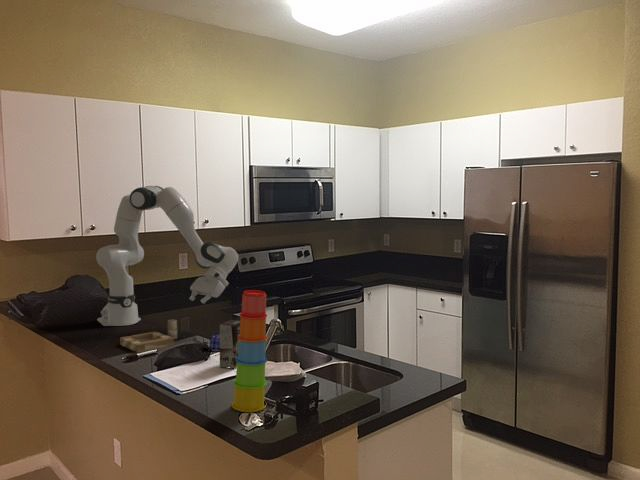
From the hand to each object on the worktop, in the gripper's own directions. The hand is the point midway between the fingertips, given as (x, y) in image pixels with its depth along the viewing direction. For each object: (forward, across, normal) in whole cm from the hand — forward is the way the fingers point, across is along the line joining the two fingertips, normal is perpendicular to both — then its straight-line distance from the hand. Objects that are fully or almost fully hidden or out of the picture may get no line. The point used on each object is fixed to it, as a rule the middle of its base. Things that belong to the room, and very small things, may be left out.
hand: (196, 301), depth 243 cm
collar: (+28, +2, -7) cm, 29 cm away
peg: (+19, 0, +2) cm, 19 cm away
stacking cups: (+36, +85, -13) cm, 93 cm away
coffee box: (+22, +49, +1) cm, 53 cm away
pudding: (+15, +26, +7) cm, 31 cm away
